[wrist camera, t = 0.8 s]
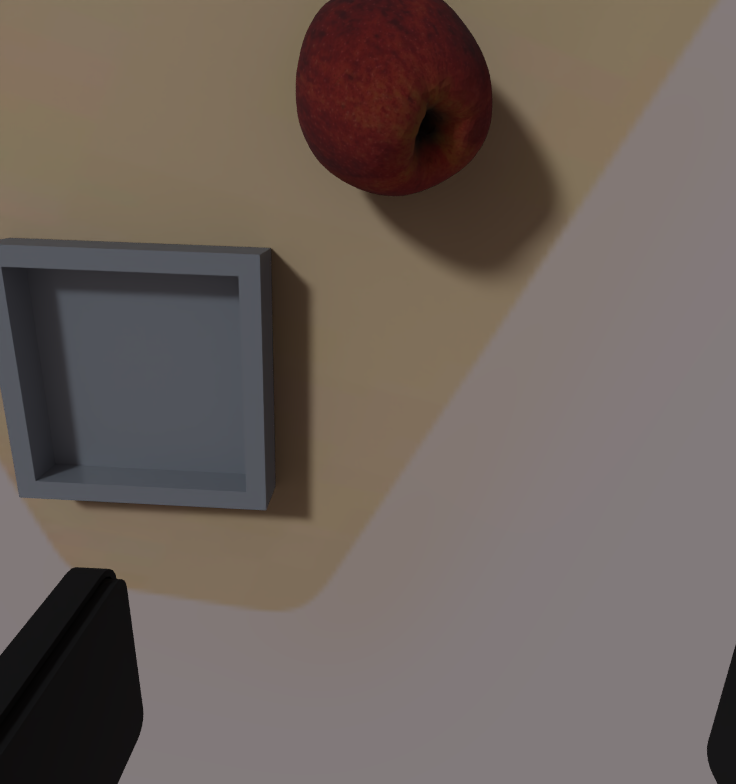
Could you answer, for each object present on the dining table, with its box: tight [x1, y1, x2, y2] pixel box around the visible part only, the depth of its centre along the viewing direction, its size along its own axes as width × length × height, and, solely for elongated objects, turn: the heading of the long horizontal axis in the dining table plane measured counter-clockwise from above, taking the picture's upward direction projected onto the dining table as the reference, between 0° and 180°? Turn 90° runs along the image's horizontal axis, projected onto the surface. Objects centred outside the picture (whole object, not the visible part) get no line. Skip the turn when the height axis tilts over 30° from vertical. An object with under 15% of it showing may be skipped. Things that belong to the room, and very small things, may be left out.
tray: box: [0, 238, 275, 510], centre depth 32 cm, size 13×13×3 cm
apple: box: [296, 0, 492, 196], centre depth 24 cm, size 7×8×8 cm
